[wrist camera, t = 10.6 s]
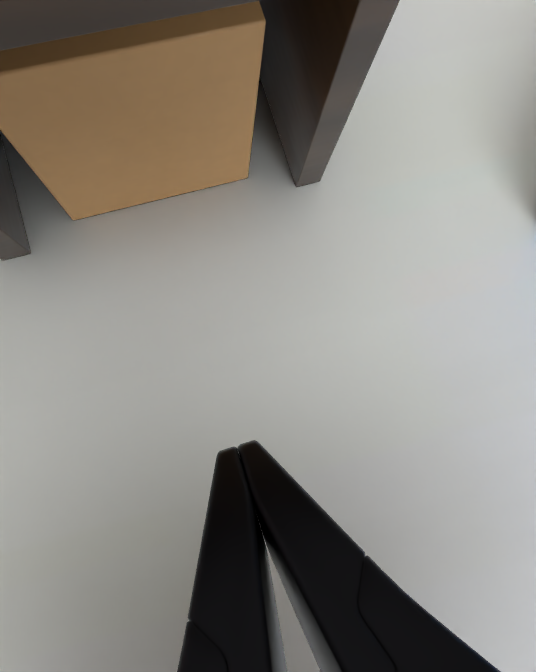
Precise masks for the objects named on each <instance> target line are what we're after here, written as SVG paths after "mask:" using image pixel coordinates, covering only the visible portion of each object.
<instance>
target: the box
mask: <svg viewBox="0 0 536 672" xmlns="http://www.w3.org/2000/svg"><path fill="white" fill-rule="evenodd" d="M265 24H266V20H265V17H264V14H263V11H262V8H261V5H260V2H259V1H256V2H251V3H246V4H240V5H235V6H230V7H225V8H220V9H214V10H209V11H204V12H199V13H194V14H188V15H183V16H178V17H173V18H168V19H162V20H157V21H152V22H147V23H142V24H136V25H131V26H126V27H121V28H116V29H111V30H105V31H100V32H95V33H90V34H85V35H79V36H74V37H69V38H64V39H59V40H53V41H48V42H43V43H38V44H33V45H27V46H22V47H17V48H12V49H7V50H1V51H0V130H1V132H2V133H3V134H4V135H5V137H6V138H7V139H8V140H9V141H10V143H11V144H12V145H13V146H14V148H15V149H16V150H17V151H18V153H19V154H20V155H21V156H22V158H23V159H24V160H25V161H26V163H27V164H28V165H29V166H30V168H31V169H32V170H33V171H34V173H35V174H36V175H37V176H38V177H39V179H40V180H41V181H42V182H43V184H44V185H45V186H46V187H47V189H48V190H49V191H50V192H51V194H52V195H53V196H54V197H55V199H56V200H57V201H58V202H59V204H60V205H61V206H62V207H63V209H64V210H65V211H66V212H67V214H68V215H69V216H70V217H71V218H72V220H77V219H82V218H86V217H90V216H94V215H98V214H102V213H106V212H110V211H114V210H118V209H123V208H127V207H131V206H135V205H139V204H143V203H147V202H151V201H155V200H159V199H163V198H168V197H172V196H176V195H180V194H184V193H188V192H192V191H196V190H200V189H204V188H209V187H213V186H217V185H221V184H225V183H229V182H233V181H237V180H241V179H245V178H248V172H249V163H250V155H251V146H252V137H253V129H254V120H255V111H256V103H257V94H258V85H259V76H260V68H261V59H262V50H263V42H264V33H265Z"/></svg>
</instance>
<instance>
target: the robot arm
mask: <svg viewBox="0 0 536 672" xmlns="http://www.w3.org/2000/svg"><path fill="white" fill-rule="evenodd" d="M257 516H258V517H257ZM259 523H260V524H259ZM260 526H261V527H260ZM261 530H262V531H261ZM262 533H263V534H262ZM263 536H264V538H263ZM264 539H265V542H266V545H267V548H268V551H269V553H270V556H271V558H272V560H273V563H274V565H275V567H276V569H277V572H278V574H279V576H280V579H281V581H282V583H283V586H284V588H285V590H286V593H287V595H288V597H289V599H290V602H291V604H292V606H293V609H294V611H295V613H296V616H297V618H298V620H299V622H300V625H301V627H302V629H303V632H304V634H305V636H306V639H307V641H308V643H309V645H310V648H311V650H312V652H313V655H314V657H315V659H316V662H317V664H318V666H319V668H320V671H321V672H500V671H499V670H498V669H497V668H495V667H494V666H493V665H491V664H490V663H489V662H488V661H486V660H485V659H484V658H483V657H482V656H480V655H479V654H478V653H477V652H476V651H474V650H473V649H472V648H471V647H469V646H468V645H467V644H466V643H465V642H463V641H462V640H461V639H460V638H459V637H457V636H456V635H455V634H454V633H452V632H451V631H450V630H449V629H448V628H446V627H445V626H444V625H443V624H442V623H440V622H439V621H438V620H437V619H435V618H434V617H433V616H432V615H431V614H429V613H428V612H427V611H426V610H425V609H424V608H422V607H421V606H420V605H419V604H418V603H417V602H416V601H414V600H413V599H412V598H411V597H410V596H409V595H408V594H406V593H405V592H404V591H403V590H402V589H401V588H400V587H399V586H398V585H397V584H396V583H395V582H394V581H393V580H392V579H391V578H390V577H389V576H388V575H387V574H386V573H384V572H383V571H382V570H381V569H380V567H379V566H378V565H377V564H376V563H375V562H374V561H373V560H372V559H371V558H370V557H369V556H365V552H364V551H363V550H362V549H361V548H360V547H359V546H358V545H357V544H356V543H355V542H354V541H353V540H352V539H351V538H350V537H349V536H348V535H347V534H346V533H345V532H344V531H343V529H342V528H341V527H340V526H339V525H338V524H337V523H336V522H335V521H334V520H333V519H332V518H331V517H330V516H329V515H328V514H327V513H326V512H325V511H324V510H323V509H322V508H321V507H320V506H319V505H318V504H317V503H316V502H315V500H314V499H313V498H312V497H311V496H310V495H309V494H308V493H307V492H306V491H305V490H304V489H303V488H302V487H301V486H300V485H299V484H298V483H297V482H296V481H295V480H294V479H293V478H292V477H291V476H290V475H289V474H288V473H287V471H286V470H285V469H284V468H283V467H282V466H281V465H280V464H279V463H278V462H277V461H276V460H275V459H274V458H273V457H272V456H271V455H270V454H269V453H268V452H267V451H266V450H265V449H264V448H263V447H262V446H261V445H260V444H259V443H258V442H257V441H255V440H253V441H250V442H247V443H243V444H240V445H239V446H238V449H237V448H236V447H231V448H228V449H225V450H222V451H219V452H218V454H217V458H216V463H215V469H214V474H213V480H212V485H211V491H210V497H209V502H208V508H207V513H206V519H205V525H204V530H203V536H202V541H201V547H200V553H199V558H198V564H197V569H196V575H195V581H194V586H193V592H192V597H191V603H190V609H189V614H188V619H189V621H188V622H187V624H186V630H185V635H184V641H183V646H182V651H181V656H180V661H179V665H178V670H177V672H287V666H286V660H285V654H284V648H283V642H282V637H281V631H280V625H279V619H278V613H277V607H276V601H275V595H274V590H273V584H272V578H271V572H270V566H269V560H268V555H267V550H266V545H265V542H264Z"/></svg>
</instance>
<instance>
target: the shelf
mask: <svg viewBox="0 0 536 672" xmlns="http://www.w3.org/2000/svg"><path fill="white" fill-rule="evenodd" d="M256 1H259V2H260V5H261V8H262V11H263V14H264V17H265V20H266V24H265V33H264V42H263V50H262V59H261V68H260V79H261V82H262V85H263V88H264V91H265V94H266V97H267V100H268V103H269V106H270V109H271V112H272V115H273V118H274V121H275V124H276V127H277V131H278V134H279V137H280V140H281V143H282V146H283V149H284V152H285V155H286V158H287V161H288V164H289V167H290V170H291V173H292V176H293V179H294V182H295V185H296V187H299V186H303V185H307V184H311V183H315V182H319V181H320V180H321V177H322V175H323V173H324V171H325V168H326V166H327V164H328V162H329V159H330V157H331V155H332V153H333V150H334V148H335V146H336V143H337V141H338V139H339V137H340V134H341V132H342V130H343V128H344V125H345V123H346V121H347V119H348V116H349V114H350V112H351V109H352V107H353V105H354V103H355V100H356V98H357V96H358V94H359V91H360V89H361V87H362V84H363V82H364V80H365V78H366V75H367V73H368V71H369V69H370V66H371V64H372V62H373V60H374V57H375V55H376V53H377V50H378V48H379V46H380V44H381V41H382V39H383V37H384V35H385V32H386V30H387V28H388V26H389V23H390V21H391V19H392V16H393V14H394V12H395V10H396V7H397V5H398V3H399V1H400V0H0V51H1V50H7V49H12V48H17V47H22V46H27V45H33V44H38V43H43V42H48V41H53V40H59V39H64V38H69V37H74V36H79V35H85V34H90V33H95V32H100V31H105V30H111V29H116V28H121V27H126V26H131V25H136V24H142V23H147V22H152V21H157V20H162V19H168V18H173V17H178V16H183V15H188V14H194V13H199V12H204V11H209V10H214V9H220V8H225V7H230V6H235V5H240V4H246V3H251V2H256ZM30 253H31V252H30V248H29V244H28V240H27V236H26V232H25V228H24V224H23V220H22V217H21V213H20V209H19V205H18V201H17V197H16V193H15V189H14V185H13V182H12V178H11V174H10V170H9V166H8V162H7V158H6V154H5V150H4V147H3V143H2V139H1V135H0V259H1V260H7V259H11V258H15V257H19V256H23V255H27V254H30Z"/></svg>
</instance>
